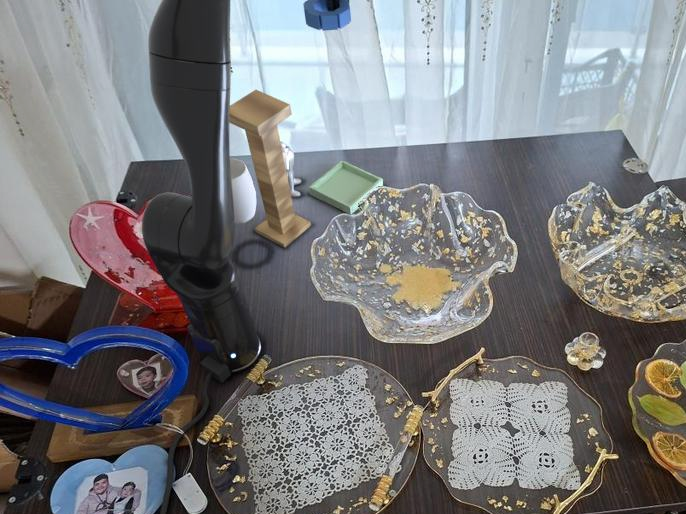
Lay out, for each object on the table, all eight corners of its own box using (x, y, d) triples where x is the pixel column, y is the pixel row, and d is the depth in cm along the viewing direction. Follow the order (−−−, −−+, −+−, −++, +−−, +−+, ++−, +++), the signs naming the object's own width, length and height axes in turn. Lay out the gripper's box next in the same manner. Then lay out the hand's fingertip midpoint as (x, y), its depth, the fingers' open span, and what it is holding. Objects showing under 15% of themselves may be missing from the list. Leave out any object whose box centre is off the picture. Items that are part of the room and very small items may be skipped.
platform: (284, 248, 122) (257, 126, 100) (255, 232, 125) (222, 110, 103) (311, 225, 126) (290, 104, 104) (282, 210, 129) (255, 89, 107)
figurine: (300, 199, 131) (291, 152, 122) (280, 199, 131) (270, 153, 122) (302, 178, 136) (293, 131, 126) (282, 178, 136) (273, 132, 126)
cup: (234, 270, 118) (205, 185, 102) (233, 244, 123) (206, 158, 106) (272, 264, 119) (250, 179, 103) (270, 239, 124) (248, 154, 107)
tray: (350, 215, 129) (350, 207, 127) (309, 194, 132) (308, 186, 131) (383, 186, 135) (382, 178, 133) (342, 167, 138) (342, 159, 137)
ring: (331, 34, 101) (329, 20, 99) (296, 21, 104) (294, 7, 102) (359, 17, 105) (358, 3, 103) (325, 5, 108) (323, -10, 106)
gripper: (317, -85, 87) (330, 34, 101) (375, -112, 95) (380, 3, 108) (278, -97, 90) (295, 21, 103) (337, -122, 97) (346, -8, 111)
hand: (338, 11), depth 106 cm, fingers closed on ring, 1 cm apart
